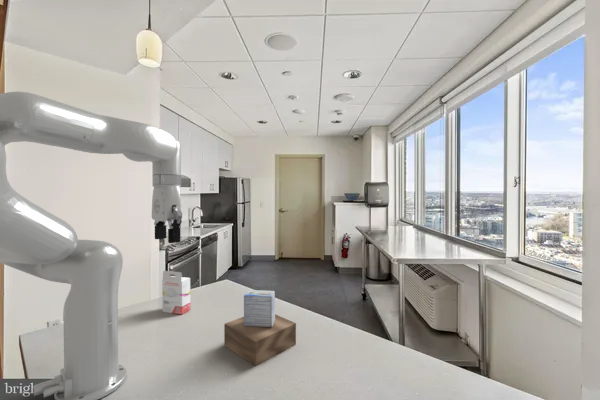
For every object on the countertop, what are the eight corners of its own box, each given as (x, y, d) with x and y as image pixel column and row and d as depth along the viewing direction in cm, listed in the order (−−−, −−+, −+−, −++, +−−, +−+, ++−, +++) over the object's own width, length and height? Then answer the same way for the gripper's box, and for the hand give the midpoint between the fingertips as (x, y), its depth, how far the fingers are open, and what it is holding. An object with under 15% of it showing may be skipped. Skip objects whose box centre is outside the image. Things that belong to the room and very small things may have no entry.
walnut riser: (255, 366, 70) (255, 341, 70) (224, 345, 79) (224, 323, 79) (295, 344, 80) (295, 323, 80) (263, 328, 89) (263, 309, 89)
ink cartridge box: (191, 309, 104) (191, 269, 104) (181, 315, 99) (181, 272, 99) (171, 306, 106) (171, 267, 106) (161, 312, 102) (161, 270, 101)
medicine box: (275, 320, 81) (275, 290, 81) (272, 328, 77) (272, 296, 77) (247, 319, 82) (247, 289, 82) (243, 326, 77) (243, 294, 77)
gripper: (142, 182, 86) (142, 238, 86) (165, 180, 74) (166, 246, 75) (167, 182, 92) (168, 236, 92) (193, 181, 80) (193, 242, 80)
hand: (167, 240), depth 83 cm, fingers open, 9 cm apart
